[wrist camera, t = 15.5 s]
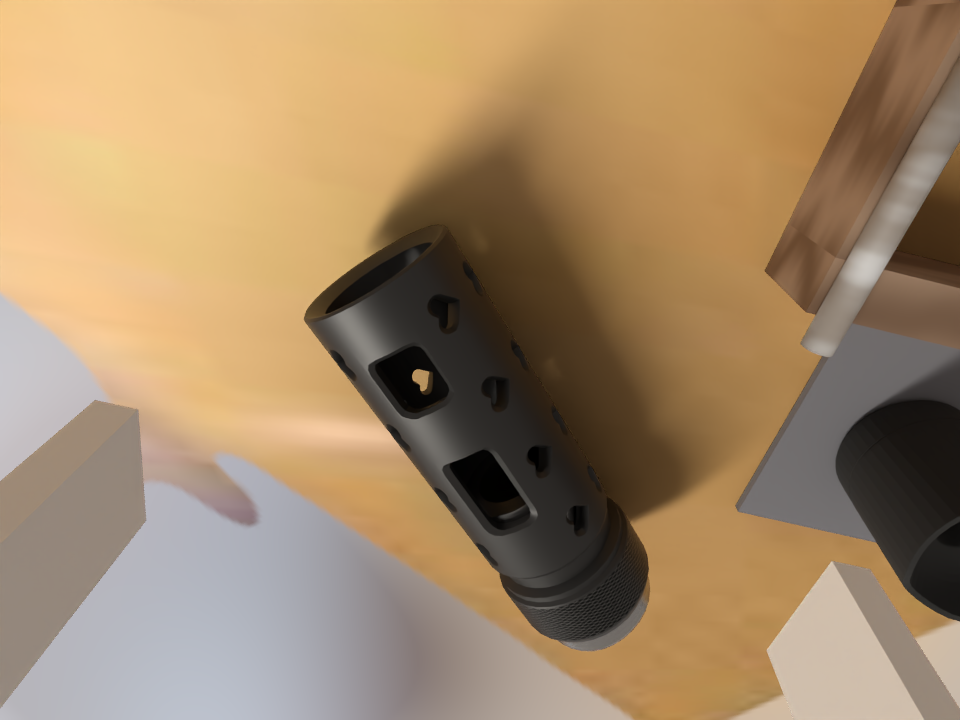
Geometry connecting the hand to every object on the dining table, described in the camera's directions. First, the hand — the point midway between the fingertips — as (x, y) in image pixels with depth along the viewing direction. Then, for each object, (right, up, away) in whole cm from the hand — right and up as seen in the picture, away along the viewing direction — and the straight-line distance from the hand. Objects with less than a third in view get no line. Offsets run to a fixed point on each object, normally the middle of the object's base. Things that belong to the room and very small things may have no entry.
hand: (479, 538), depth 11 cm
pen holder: (+29, -3, +29) cm, 41 cm away
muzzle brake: (+2, 0, +31) cm, 31 cm away
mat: (+29, -2, +30) cm, 41 cm away
